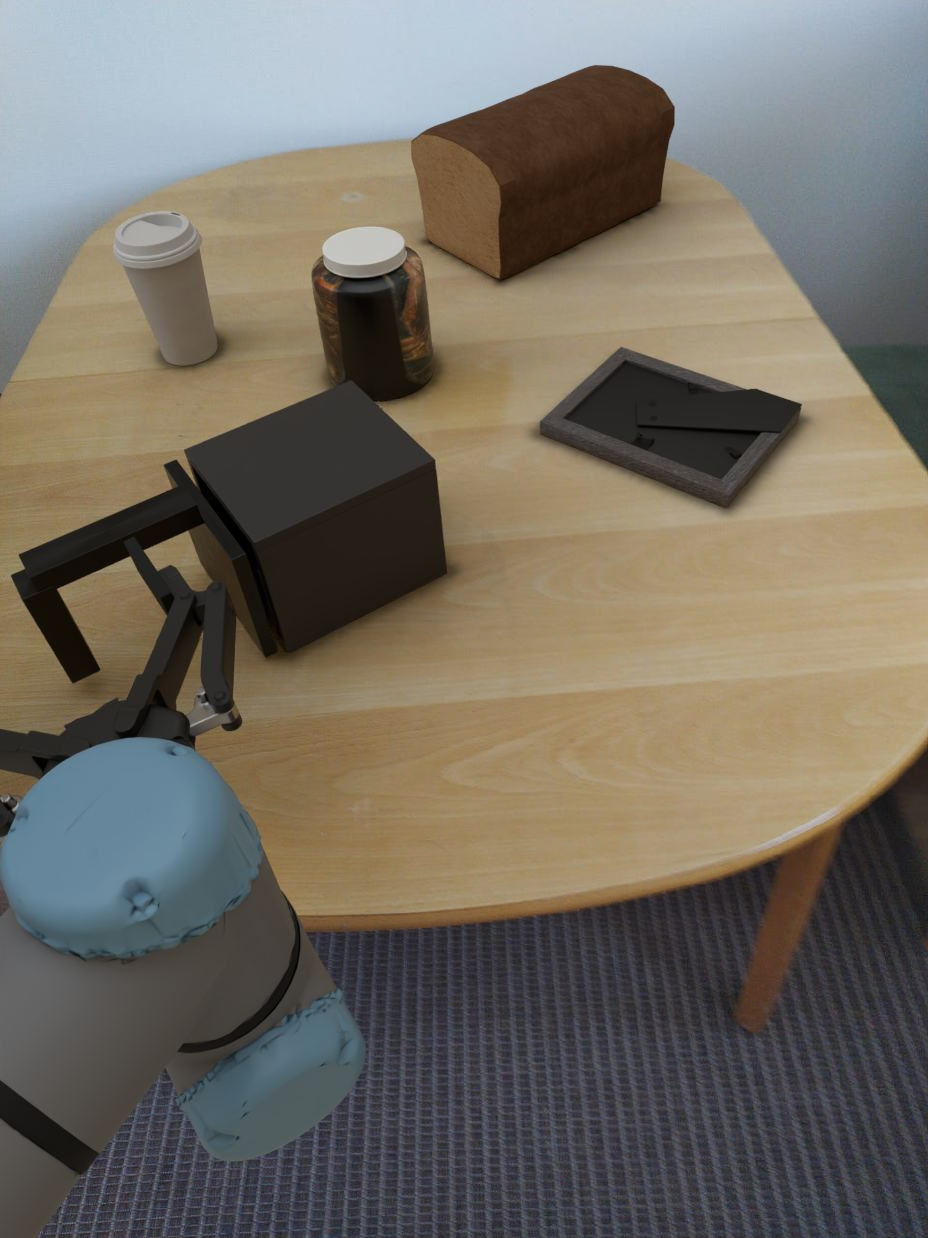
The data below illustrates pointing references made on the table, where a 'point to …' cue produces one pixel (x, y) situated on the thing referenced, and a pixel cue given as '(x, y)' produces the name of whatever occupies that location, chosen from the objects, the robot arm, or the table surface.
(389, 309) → the jar
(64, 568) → the fryer drawer
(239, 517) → the box
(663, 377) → the picture frame
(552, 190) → the bread
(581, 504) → the table surface
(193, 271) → the coffee cup
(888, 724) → the table surface
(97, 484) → the table surface
